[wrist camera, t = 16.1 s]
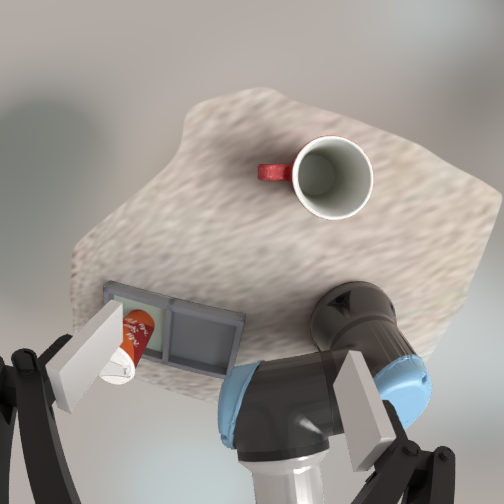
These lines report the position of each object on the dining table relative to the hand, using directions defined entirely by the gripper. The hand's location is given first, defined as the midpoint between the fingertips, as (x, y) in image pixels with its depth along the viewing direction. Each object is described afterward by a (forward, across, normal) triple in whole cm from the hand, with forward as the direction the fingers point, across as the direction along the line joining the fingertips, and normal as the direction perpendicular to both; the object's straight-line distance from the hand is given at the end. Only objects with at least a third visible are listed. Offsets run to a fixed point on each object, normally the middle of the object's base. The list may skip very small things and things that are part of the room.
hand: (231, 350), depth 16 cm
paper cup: (+30, +17, +21) cm, 40 cm away
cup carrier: (+31, +11, +21) cm, 39 cm away
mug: (+31, -5, -10) cm, 33 cm away
